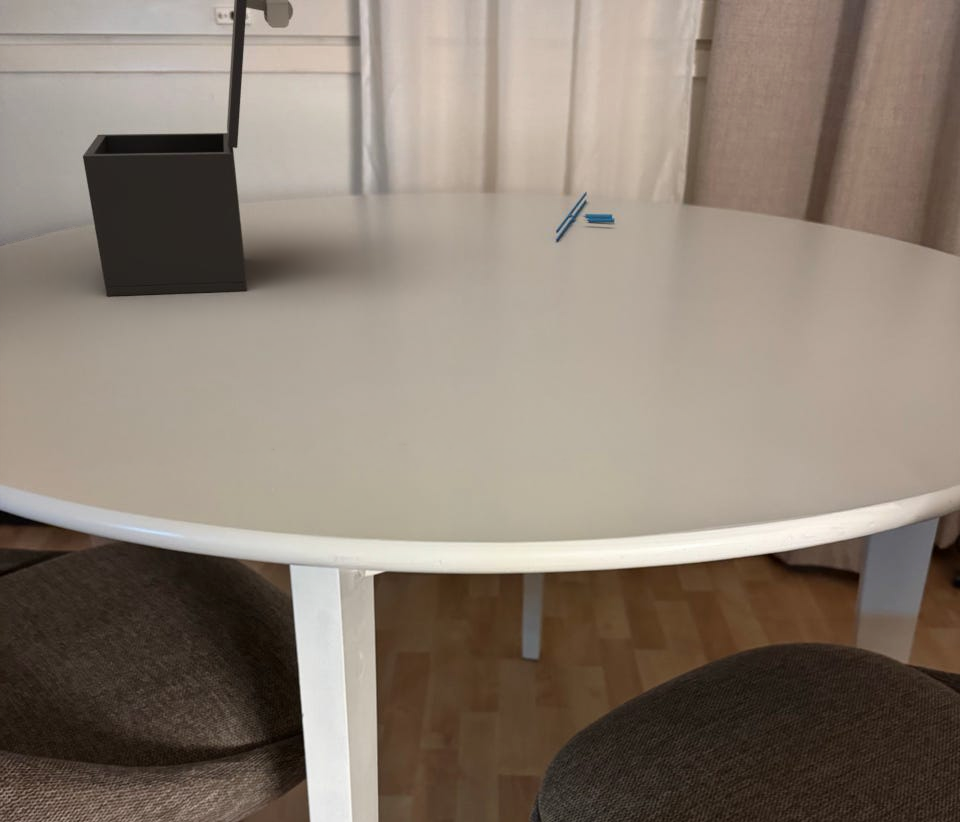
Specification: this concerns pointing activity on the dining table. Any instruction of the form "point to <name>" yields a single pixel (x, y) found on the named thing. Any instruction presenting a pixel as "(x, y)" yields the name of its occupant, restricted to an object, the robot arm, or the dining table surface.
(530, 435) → the dining table surface
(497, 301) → the dining table surface
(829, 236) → the dining table surface
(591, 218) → the chopsticks
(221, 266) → the box
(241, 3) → the lid
